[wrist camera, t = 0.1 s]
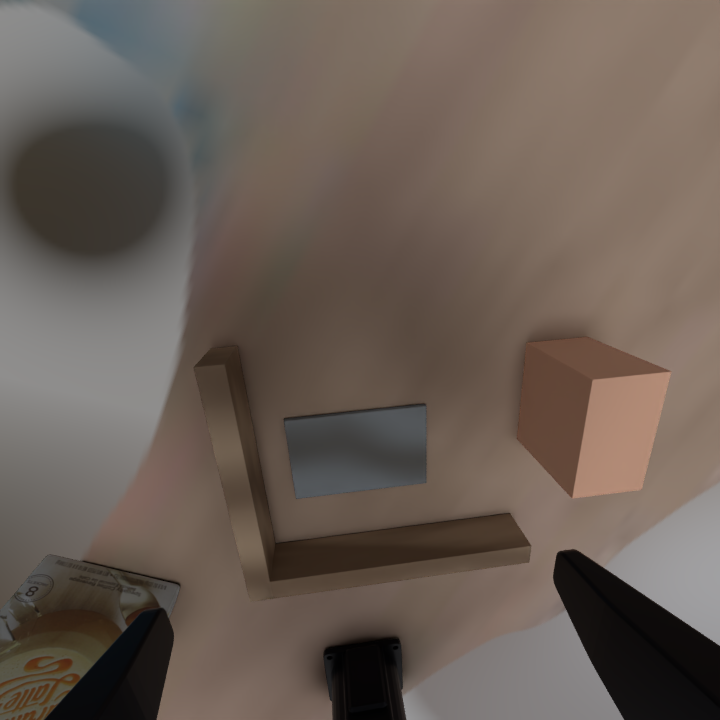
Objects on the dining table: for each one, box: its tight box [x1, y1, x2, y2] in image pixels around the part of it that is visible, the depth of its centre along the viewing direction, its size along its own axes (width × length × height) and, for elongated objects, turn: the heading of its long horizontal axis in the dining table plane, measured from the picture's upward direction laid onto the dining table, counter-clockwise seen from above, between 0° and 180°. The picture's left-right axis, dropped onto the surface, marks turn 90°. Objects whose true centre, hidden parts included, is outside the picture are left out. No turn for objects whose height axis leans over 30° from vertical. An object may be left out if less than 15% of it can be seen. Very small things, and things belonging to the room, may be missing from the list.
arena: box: [194, 346, 531, 602], centre depth 23 cm, size 16×19×3 cm
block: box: [517, 337, 671, 499], centre depth 21 cm, size 7×4×6 cm, turn 4°
